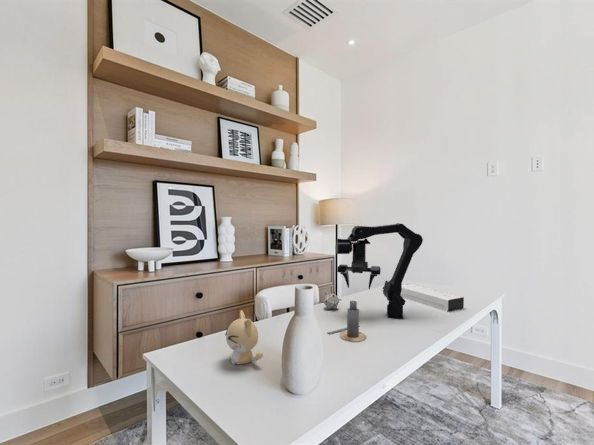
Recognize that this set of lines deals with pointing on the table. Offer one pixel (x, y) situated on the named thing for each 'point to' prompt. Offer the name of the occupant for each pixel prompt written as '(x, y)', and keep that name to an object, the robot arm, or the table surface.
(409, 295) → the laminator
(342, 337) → the cork coaster
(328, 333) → the felt line
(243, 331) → the kitten
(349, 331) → the grey stepped cylinder
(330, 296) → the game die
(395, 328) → the table surface
